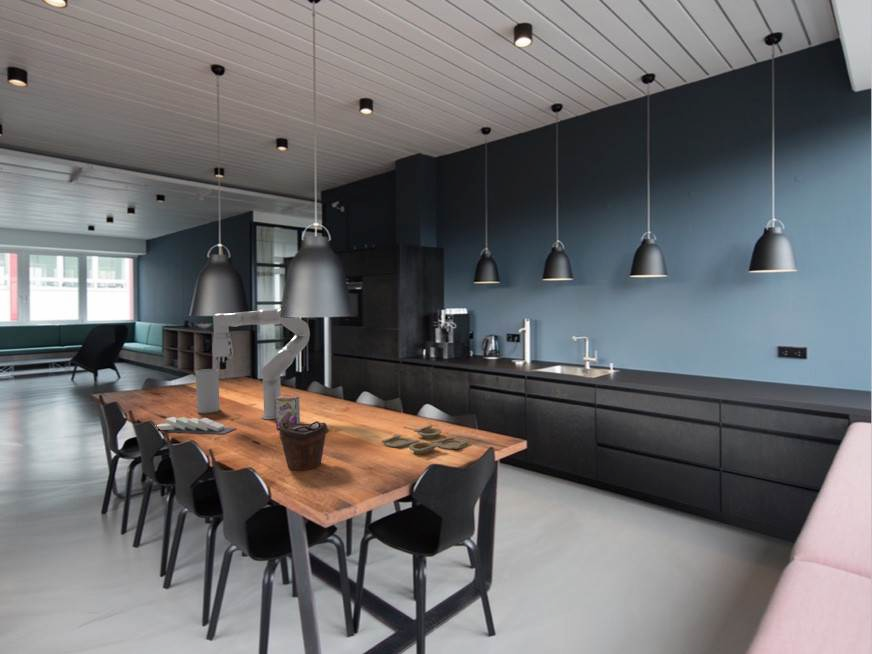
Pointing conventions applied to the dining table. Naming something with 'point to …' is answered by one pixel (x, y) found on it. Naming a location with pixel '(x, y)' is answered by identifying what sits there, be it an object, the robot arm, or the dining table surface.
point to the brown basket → (303, 444)
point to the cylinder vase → (207, 390)
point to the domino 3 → (185, 423)
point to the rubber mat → (203, 431)
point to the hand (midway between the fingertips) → (223, 369)
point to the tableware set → (425, 446)
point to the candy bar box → (287, 410)
